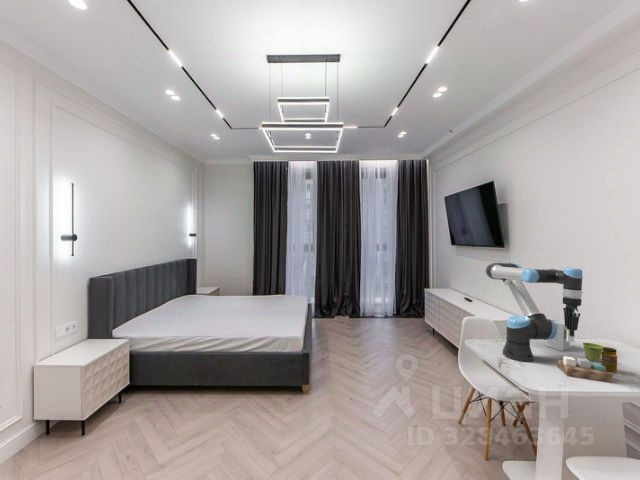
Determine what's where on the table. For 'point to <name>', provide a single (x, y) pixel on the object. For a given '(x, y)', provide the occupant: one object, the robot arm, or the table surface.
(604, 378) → the wooden tray
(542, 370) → the table surface
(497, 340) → the table surface
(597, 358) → the plant pot
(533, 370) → the table surface
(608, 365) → the condiment
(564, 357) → the cream white cube
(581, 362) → the grey cube
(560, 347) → the supplement box
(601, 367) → the teal cube
